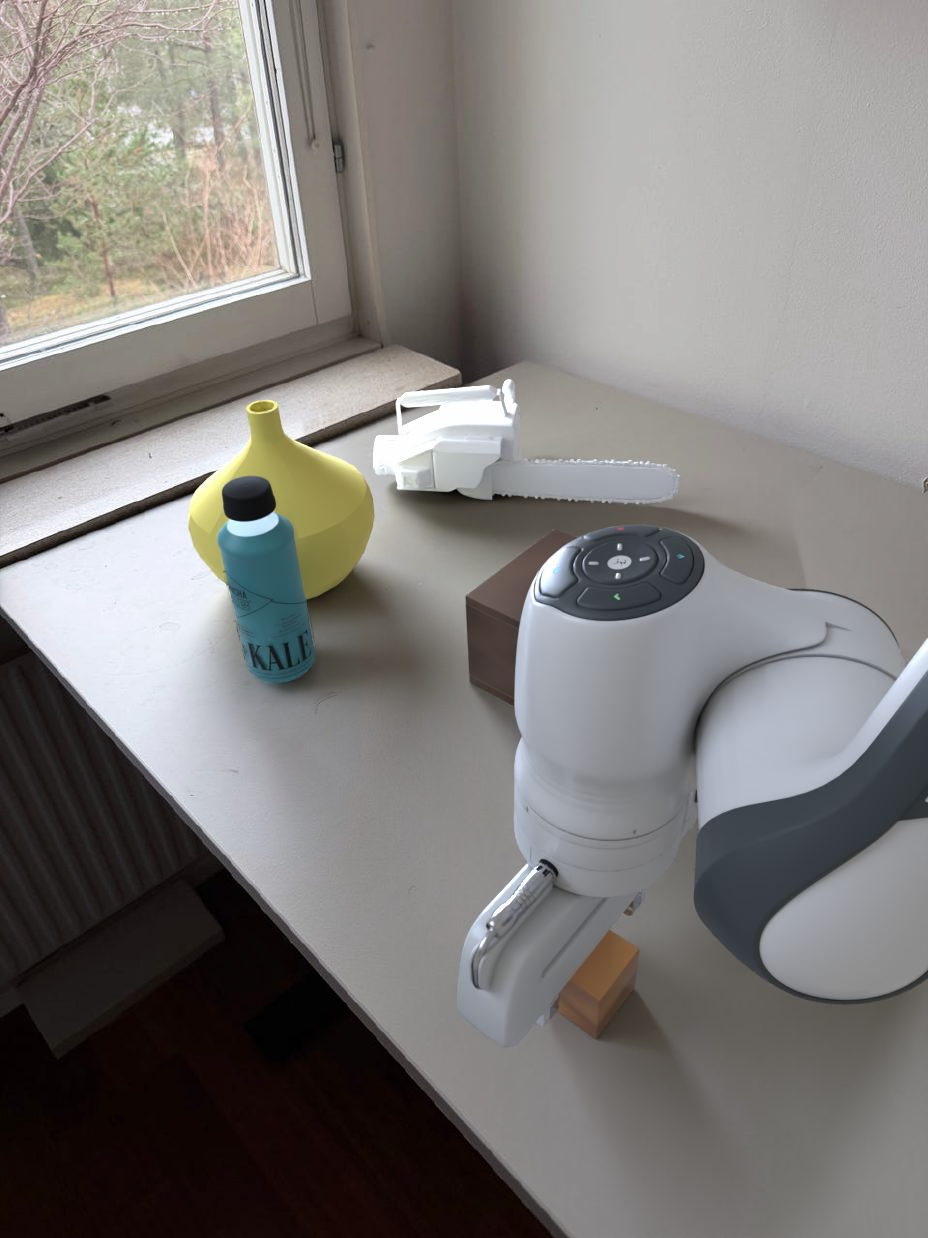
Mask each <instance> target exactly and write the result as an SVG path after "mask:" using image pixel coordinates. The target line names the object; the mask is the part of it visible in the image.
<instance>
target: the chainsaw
mask: <svg viewBox="0 0 928 1238" xmlns="http://www.w3.org/2000/svg"><path fill="white" fill-rule="evenodd" d="M497 396H498V398H499V400H494V399H495V398H496V397H497ZM401 406H402V407H404V408H417V407H428V406H429V407H431V406H440V407H439V409H438V410H435V411H433V412H431V413H428V414H425V415H423V416H422V417H419V418H417V419H415V420H412V421H410V422H408V423H406V424H404V425H403V423H402V412H401V411H402V410H401ZM395 412H396V421H397V432H398V435H381V434H379V435H377V436H376V437H375V440H374V444H373V449H372V463H373V470H374V474H375V475H376V476H384V477H385V476H395V481H396V483H397V486H396V490H398V491H419V492H420V491H422V492H446V493H450V492H452V491H454V490H457V491H458V493H460V494H462V495H463V496H465V497H469V498H472V499H477V500H478V499H479V500H485V501H493V496H495V494H497V495H501V496H502V497H505V496H506V495H507V497H512V496H515V497H516V496H519V497H523V498H524V499H528V497H530V498H534V499H536V500H537V499H539V498H540V499H541V500H546V499H556V501H561V500H567V501H568V502H572V500H574V502H579V501H587V502H589V501H590V503H593V504H594V503H595V501H596V502H601V503H602V504H605V503H606V502H608V503H607V504H613V503H623V504H624V505H628V504H629V503H631V504H635V505H640V503H642V505H647V504H651V503H659V504H663V503H664V501H667V500H669V499H670V500H672V499H673V498H674V495H677V494H678V493H679V490H678V489H679V485H680V481H679V480H680V479H681V476H680V474H677V470H676V469H673V468H671V467H668V464H667V463H663V464H660V463H658V464H657V463H651V461H648V460H647V461H646V462H644V461H643V460H639V461H634V462H633V460H632V459H628V461H619V460H617V461H616V459H611V461H609V459H605V460H599V461H598V459H597V458H594V459H592V460H581V458H577V459H576V460H574V458H570V460H568V459H567V460H566V459H565V460H563V458H558V460H557V459H554V460H551V459H547V458H542V460H540V458H535V459H531V460H529V458H524V459H523V460H522V459H521V460H520V422H521V412H520V406H519V404H518V403H516V384H515V381H514V380H513V379H506V380H505V381H504V382H503V385H502V389H501V388H496V387H495V386H493V385H491V384H490V385H488V384H487V385H478V386H474V385H471V386H465V387H456V388H455V387H453V388H442V389H431V390H419V391H409V392H407V391H406V392H405V393H404V394H403V395H402V396H401V397H398V398H397V400H396V401H395Z"/></svg>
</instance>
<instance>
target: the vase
mask: <svg viewBox="0 0 928 1238" xmlns="http://www.w3.org/2000/svg"><path fill="white" fill-rule="evenodd" d="M245 411H246V416H247V422H248V426H249V431H250V437H249V440H248V441H247V443H246V445H245V446H244V447H243V448H242V449H241V450H240V451H239V452H237V454H235V455H234V456H233V457H232V458H231V459H230V460H229V461H228V462H227V463H225V464H224V465H223V466H221V467H220V468H219V469H217V471H215V472H214V473H213V474H212V475H210V476H209V477H207V478H206V480H205V481H204V482H203V483H202V484H200V485H199V487H198V488H197V489H196V490H195V491H194V493H193V495H192V497H191V500H190V501H189V506H188V513H187V528H188V529H187V530H188V532H189V535H190V538H191V542H192V545H193V548H194V549H195V551H196V553H197V555H198V556H199V558H200V560H202V562H203V563H204V564H205V565H206V566H207V567H208V568H209V570H210V571H211V572H212V573H213V574H214V575H215V576H216V578H218V580H220V581H222V583H224V584H226V583H227V584H228V582H227V578H226V574H225V572H223V571H225V569H224V564H223V559H222V555H221V551H220V548H219V546H218V542H217V536H218V533H219V531H220V529H221V528H222V527H223V525H224V524H225V523H226V522H227V521H228V520H229V518H228V517H227V516H226V515H225V513H224V509H223V498H222V489H223V487H224V485H225V484H227V483H228V482H229V481H231V480H233V479H236V478H239V477H244V476H259V477H263V478H265V479H267V480H268V481H269V483H270V485H271V488H272V491H273V495H274V497H275V500H276V508H275V510H274V511H273V512H276V513H278V514H280V515H282V516H284V517H285V518H287V519H288V520H289V521H290V522H291V524H292V525H293V528H294V538H295V544H296V550H297V555H298V561H299V567H300V572H301V578H302V584H303V589H304V595H305V598H306V601H307V599H308V600H310V599H313V598H316V597H319V596H320V595H322V594H324V593H326V592H328V591H329V590H332V589H333V588H335V587H337V586H338V585H339V584H340V583H341V582H343V581H344V580H345V579H346V578H347V577H348V576H349V574H350V573H351V572H352V571H353V570H354V569H355V567H356V566H357V565H358V563H359V562H360V560H361V559H362V557H363V555H364V554H365V552H366V548H367V546H368V542H369V540H370V537H371V534H372V531H373V527H374V522H375V516H376V515H375V504H374V497H373V494H372V491H371V488H370V485H369V484H368V482H367V480H366V479H365V477H364V475H363V474H362V473H361V472H360V471H359V470H358V469H357V468H356V467H355V466H354V465H353V464H351V463H349V462H347V461H345V460H343V459H341V458H339V457H336V456H333V455H331V454H328V453H325V452H323V451H320V450H317V449H315V448H313V447H310V446H308V445H306V444H303V443H301V442H299V441H297V440H294V439H292V438H291V437H290V436H289V435H288V434H286V433H285V432H284V429H283V426H282V419H281V415H280V410H279V403H277V401H275V400H272V399H261V400H255V401H252V402H250V403H249V404H247V405H246V407H245ZM224 577H225V578H224ZM225 580H226V582H225Z"/></svg>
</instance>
